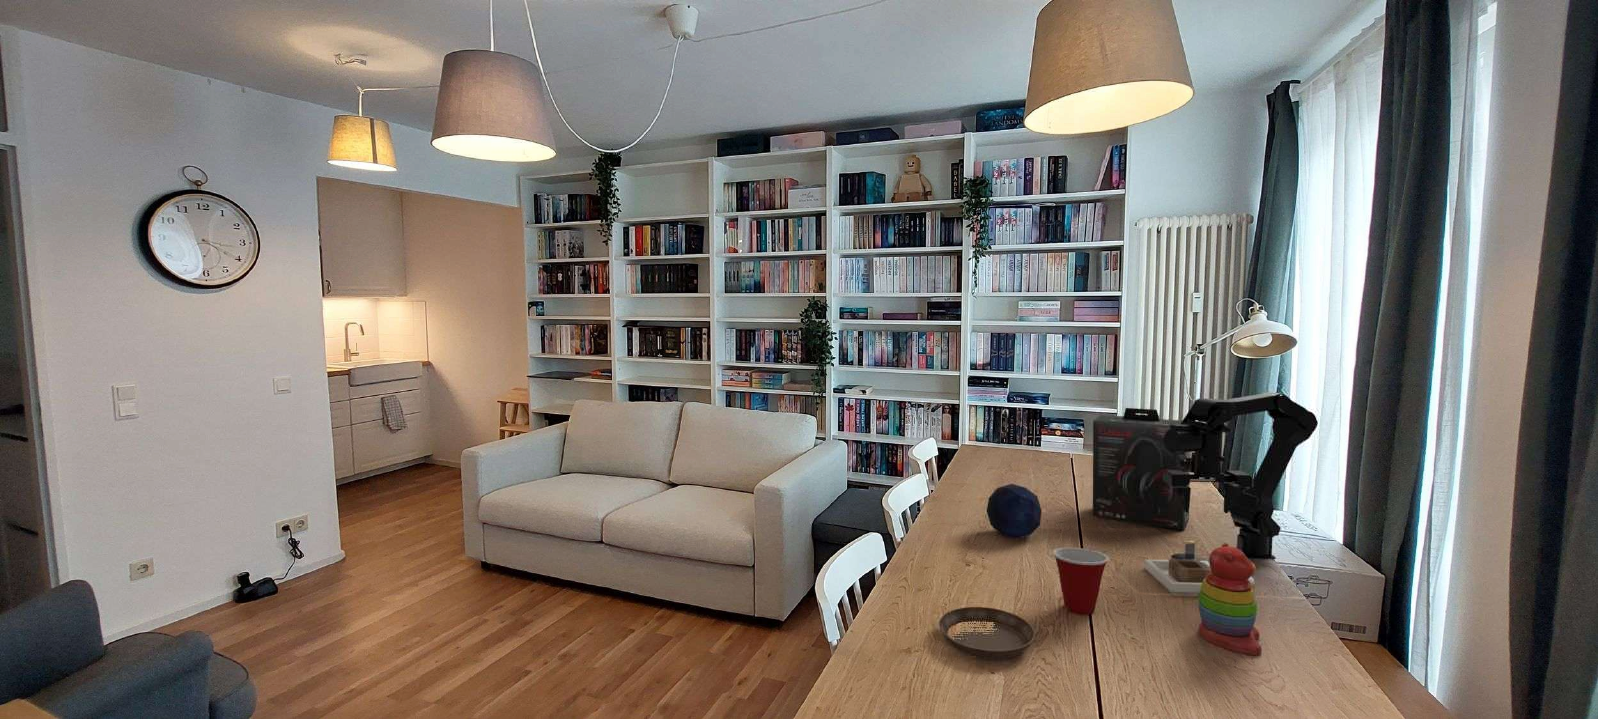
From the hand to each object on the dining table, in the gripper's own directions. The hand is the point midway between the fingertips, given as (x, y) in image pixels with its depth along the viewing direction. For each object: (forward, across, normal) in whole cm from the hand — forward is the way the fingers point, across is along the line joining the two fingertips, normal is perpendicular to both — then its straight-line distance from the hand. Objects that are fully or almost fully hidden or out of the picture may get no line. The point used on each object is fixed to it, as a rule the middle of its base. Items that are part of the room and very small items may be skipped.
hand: (1206, 512), depth 163 cm
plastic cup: (+12, +39, +29) cm, 50 cm away
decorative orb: (+12, +43, -15) cm, 47 cm away
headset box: (+12, +3, -32) cm, 34 cm away
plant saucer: (+12, +61, +44) cm, 76 cm away
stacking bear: (+12, +15, +40) cm, 44 cm away
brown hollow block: (+11, +10, +14) cm, 21 cm away
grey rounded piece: (+12, +4, +1) cm, 13 cm away
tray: (+12, +10, +14) cm, 21 cm away
